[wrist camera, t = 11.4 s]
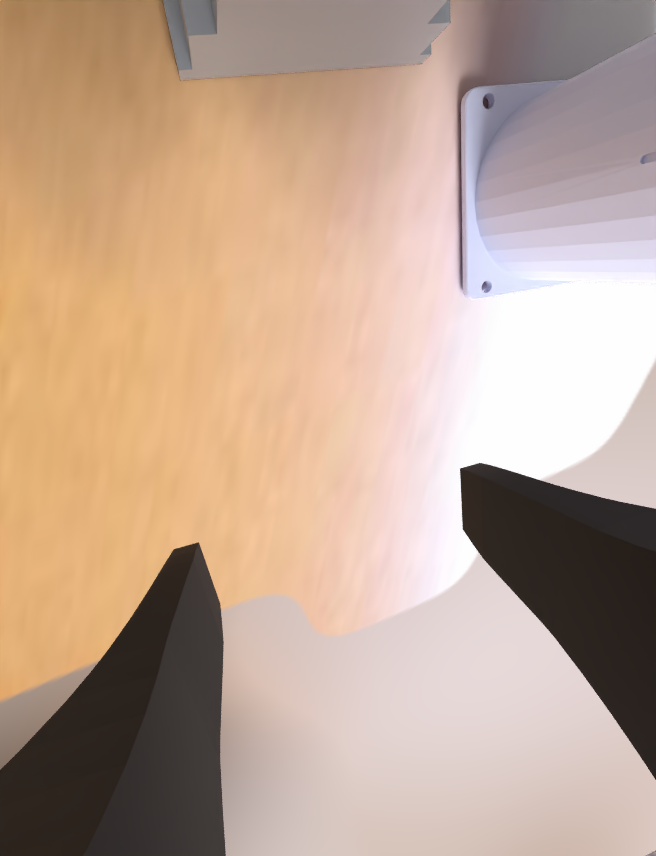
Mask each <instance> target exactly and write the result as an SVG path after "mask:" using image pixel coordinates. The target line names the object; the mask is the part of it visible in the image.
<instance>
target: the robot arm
mask: <svg viewBox="0 0 656 856" xmlns="http://www.w3.org/2000/svg"><path fill="white" fill-rule="evenodd" d="M483 97H486V98H487V99H488V102H489V106H488V109H486V108H485V107H484V106H483ZM461 159H462V255H463V293H464V295H465V297H466V298H468V299H472V300H478V299H483V298H489V297H495V296H500V295H506V294H511V293H517V292H523V291H528V290H534V289H539V288H545V287H551V286H556V285H562V284H567V283H573V282H579V281H580V282H608V283H637V284H656V33H655V34H653V35H651V36H649V37H647V38H646V39H644V40H642V41H640V42H638V43H636V44H634V45H632V46H631V47H629V48H627V49H625V50H623V51H621V52H619V53H618V54H616V55H614V56H612V57H610V58H608V59H606V60H605V61H603V62H601V63H599V64H597V65H595V66H593V67H591V68H590V69H588V70H586V71H584V72H582V73H580V74H578V75H577V76H575V77H573V78H571V79H568V80H555V81H542V82H530V83H517V84H505V85H492V86H480V87H474V88H472V89H470V90H469V91H468V92H467V93H466V94H465V95H464V96H463V99H462V102H461ZM484 282H486V284H487V287H486V290H485V291H484V292H483V291H482V284H483V283H484ZM460 475H461V498H462V520H463V530H464V531H465V533H466V534H467V536H468V537H469V539H470V540H471V542H472V543H473V545H474V546H475V548H476V549H477V550H478V552H479V553H480V555H481V556H482V557H483V559H484V560H485V561H486V562H487V563H488V564H489V565H490V567H491V568H492V569H493V570H494V571H495V572H496V573H497V574H498V575H499V576H500V578H501V579H502V580H503V581H504V582H505V583H506V584H507V585H508V586H509V587H510V588H511V589H512V591H513V592H514V593H515V594H516V595H517V596H518V597H519V598H520V599H521V600H522V601H523V602H524V604H525V605H526V606H527V607H528V608H529V609H530V610H531V611H532V612H533V613H534V614H535V615H536V617H537V618H538V619H539V620H540V621H541V622H542V623H543V624H544V625H545V627H546V628H547V629H548V630H549V631H550V632H551V634H552V635H553V636H554V637H555V638H556V640H557V641H558V642H559V644H560V645H561V646H562V648H563V649H564V650H565V652H566V653H567V654H568V655H569V657H570V658H571V659H572V661H573V662H574V663H575V665H576V666H577V667H578V669H579V670H580V671H581V673H583V675H584V677H585V678H586V679H587V681H588V682H589V684H590V685H591V686H592V687H593V689H594V690H595V692H596V693H597V695H598V696H599V697H600V699H601V700H602V702H603V703H604V704H605V706H606V707H607V709H608V710H609V711H610V713H611V714H612V716H613V717H614V719H615V720H616V721H617V723H618V724H619V726H620V727H621V729H622V730H623V732H624V733H625V735H626V736H627V737H628V739H629V741H630V742H631V743H632V745H633V746H634V748H635V749H636V751H637V752H638V753H639V755H640V757H641V758H642V760H643V761H644V763H645V764H646V766H647V767H648V769H649V770H650V772H651V773H652V775H653V776H654V778H655V779H656V509H654V508H649V507H644V506H638V505H633V504H628V503H623V502H618V501H614V500H610V499H605V498H601V497H597V496H594V495H590V494H586V493H582V492H578V491H574V490H571V489H567V488H564V487H560V486H557V485H553V484H550V483H547V482H544V481H540V480H537V479H534V478H531V477H528V476H524V475H521V474H518V473H515V472H512V471H508V470H505V469H502V468H498V467H495V466H491V465H487V464H482V463H478V464H475V465H471V466H468V467H464V468H461V469H460ZM222 673H223V630H222V618H221V608H220V602H219V599H218V596H217V593H216V591H215V588H214V585H213V582H212V579H211V576H210V573H209V571H208V568H207V565H206V562H205V559H204V556H203V553H202V550H201V548H200V545H199V542H198V543H195V544H191V545H188V546H184V547H181V548H177V549H174V550H173V552H172V553H171V555H170V556H169V558H168V559H167V561H166V563H165V564H164V566H163V568H162V569H161V571H160V573H159V574H158V576H157V577H156V579H155V581H154V582H153V584H152V586H151V587H150V589H149V591H148V592H147V594H146V595H145V597H144V598H143V600H142V601H141V603H140V605H139V606H138V608H137V609H136V611H135V612H134V614H133V615H132V617H131V618H130V620H129V621H128V623H127V624H126V626H125V627H124V628H123V630H122V631H121V633H120V634H119V635H118V637H117V638H116V640H115V641H114V642H113V644H112V645H111V647H110V648H109V649H108V651H107V652H106V653H105V655H104V656H103V657H102V659H101V660H100V661H99V662H98V664H97V665H96V666H95V667H94V669H93V670H92V671H91V673H90V674H89V675H88V676H87V677H86V678H85V680H84V681H83V682H82V683H81V684H80V686H79V687H78V688H77V689H76V690H75V692H74V693H73V694H72V695H71V696H70V697H69V698H68V700H67V701H66V702H65V703H64V704H63V705H62V706H61V707H60V708H59V709H58V711H57V712H56V713H55V714H54V715H53V716H52V717H51V718H50V719H49V720H48V721H47V722H46V723H45V724H44V726H43V727H42V728H41V729H40V730H39V731H38V732H37V733H36V734H35V735H34V736H33V737H32V738H31V739H30V741H28V743H27V744H26V745H25V746H24V747H23V748H22V749H21V750H20V751H19V752H18V753H17V754H16V755H15V756H14V757H13V758H12V759H11V760H10V761H9V762H8V763H7V764H6V765H5V766H4V767H3V768H2V769H1V770H0V856H225V855H226V854H225V839H224V823H223V807H222V788H221V769H220V727H221V700H222ZM646 856H656V851H654V852H652V853H650V854H648V855H646Z"/></svg>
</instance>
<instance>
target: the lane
mask: <svg viewBox="0 0 656 856" xmlns="http://www.w3.org/2000/svg"><path fill="white" fill-rule="evenodd" d="M163 4H164V8H165V13H166V18H167V22H168V27H169V31H170V36H171V40H172V45H173V50H174V54H175V59H176V63H177V68H178V73H179V77H180V80H193V79H208V78H222V77H237V76H252V75H267V74H282V73H297V72H311V71H326V70H341V69H356V68H371V67H385V66H400V65H415V64H422V63H423V62H424V61H425V60H426V59H427V58H428V57H429V56H430V55H431V43H432V42H433V41H434V40H435V39H436V37H437V36H438V35H439V34H440V33H441V32H442V31H443V30H444V29H445V28H446V27H447V26H448V25H449V24H450V23H451V22H450V0H163Z"/></svg>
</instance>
